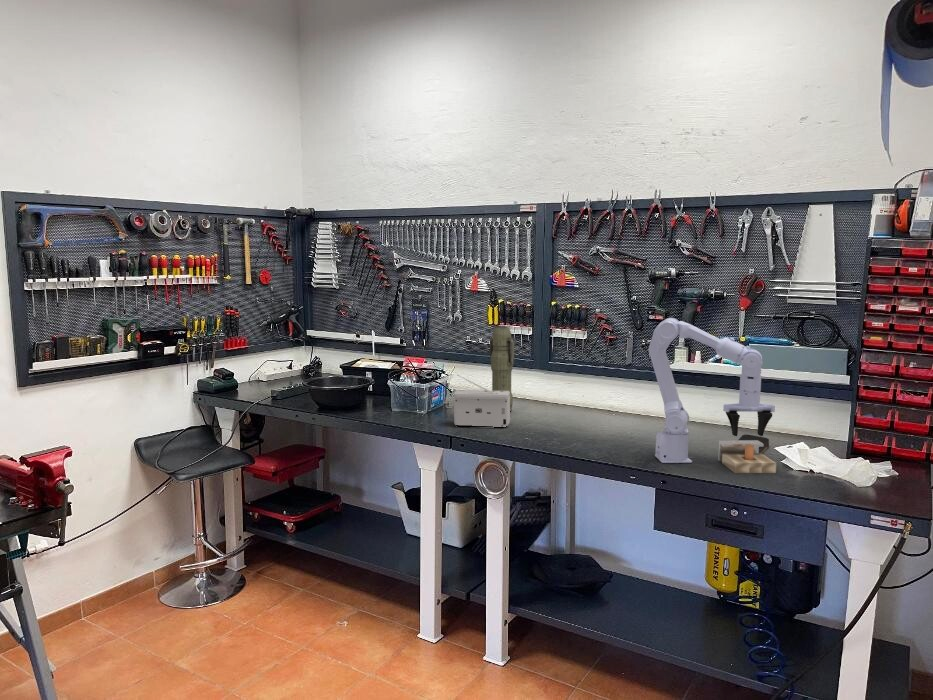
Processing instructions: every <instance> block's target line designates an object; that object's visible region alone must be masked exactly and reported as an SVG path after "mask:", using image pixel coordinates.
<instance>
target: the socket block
mask: <svg viewBox="0 0 933 700" xmlns="http://www.w3.org/2000/svg"><path fill="white" fill-rule="evenodd" d="M721 464H722V465H724V466H725V467H726V468H727V469H729V470H730V471H732V472H733V473H734V474H776V472H777V462H775V461H773V460H772V459H771V458H769V457H767V456H766V455H765V454H763V453H762V454H761V453H754V454H753V460H745V454H722V461H721Z"/></svg>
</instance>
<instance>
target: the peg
mask: <svg viewBox="0 0 933 700" xmlns="http://www.w3.org/2000/svg"><path fill="white" fill-rule="evenodd" d="M753 454H754V445H750V444H746V445H745V460H753Z"/></svg>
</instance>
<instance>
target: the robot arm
mask: <svg viewBox="0 0 933 700" xmlns="http://www.w3.org/2000/svg"><path fill="white" fill-rule="evenodd" d="M678 336H679V337H678ZM677 337H678V339H692V340H694V341H697V342H699V343H701V344H703V345H705V346H708V347H710V348H713V349H714V350H715V353H716V355H718V356H719V357H721V358H724V359H726V360H728V361H730V362H732V363H735V364H737V365H738V364H740V365H741V374H740V378H739V395H738V396H739V397H738V403H728V404H727V403H726V404H723V412H725V414H726V417H727V418H728V421H729V424H730V428H731V434H732V435H733V436H734V437H738V434H739V433H738V431H739V421H740V417H741V415H740V414H739V413H738V412H744V413H745V412H746V413H747V412H750V413H751V412H753V413H754V412H757V421H758V422H757V436H759V437H764V433H765V430H766V427H767V425H768V423H769V422H770V421H771V419H772V418H773V413H775V410H776V409H775V408H776V406H775V405H774V404H770V403H769V404H768V403H761V392H762V391H761V390H762V375H761V374H762V367H763V364H764V362H763V356H762V353H761V352H760V351H758V350H756V349H755V348H751V346H749V345H746V346H745V345H743V344H741V343H740V342H737V341H735V338H733V337H730V338H729V337H723V338H719V337H716V336H714V335H713V334H710V333H709V332H706V331H704V330H702V329H700V328H699V327H696V326H694V325H693V324H691V323H688V322H686V321H682V320H680V321H679V320H678V319H677V318H674V317H668V318H665V319H664V320H662V321H661V322H660V323H658V325H657V326H656V327H655V329H654V330H653V333H652V337H651V340H650V342H649V346H648V353H649V356H650V360H651V364H652V368H653V370H654V374H655V377H656V381H657V384H658V388H659V391H660V394H661V398H662V401H663V406H664V413H665V419H664V426H665V428H664V431H658V432H657V433H656V436H655V454H654V457H655V458H657V459H658V461H659V462H661V464H663V463H664V464H679V463H681V464H688V463H689V464H690V463H693V460H692V459H690V458H689V457H688V456H689V439H690V438H689V437H690V431H689V429H688V428H687V425H688V424H689V421H690V415H689V413H688V412H687V410H685V408H684V406H683V403H682V401H681V399H680V396H679V392H678V390H677V385H676V383H675V378H674V376H673V372H672V368H671V365H670V360H669V357H668V354H667V351H666V350H667V349H668V347H669V346H670V344H671V343H672V342H673V340H675V339H676V338H677Z"/></svg>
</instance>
